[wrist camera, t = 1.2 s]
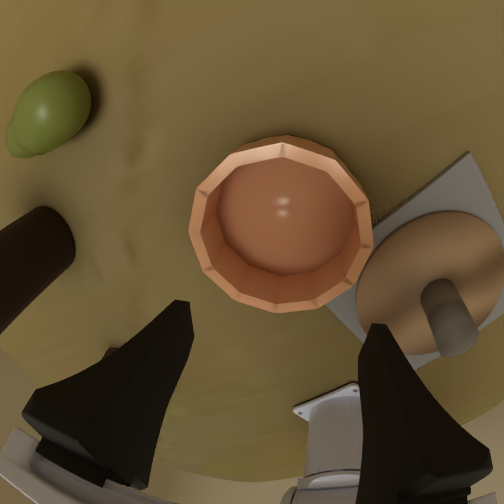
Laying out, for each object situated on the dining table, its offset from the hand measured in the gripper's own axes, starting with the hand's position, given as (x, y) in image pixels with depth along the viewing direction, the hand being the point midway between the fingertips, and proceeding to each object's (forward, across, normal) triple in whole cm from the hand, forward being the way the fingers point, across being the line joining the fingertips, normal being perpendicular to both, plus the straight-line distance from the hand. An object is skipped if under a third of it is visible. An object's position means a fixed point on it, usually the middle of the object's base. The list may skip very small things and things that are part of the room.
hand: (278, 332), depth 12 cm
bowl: (+10, 0, 0) cm, 10 cm away
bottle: (+10, +22, +4) cm, 25 cm away
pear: (+11, +19, -8) cm, 23 cm away
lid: (+9, -12, +4) cm, 15 cm away
